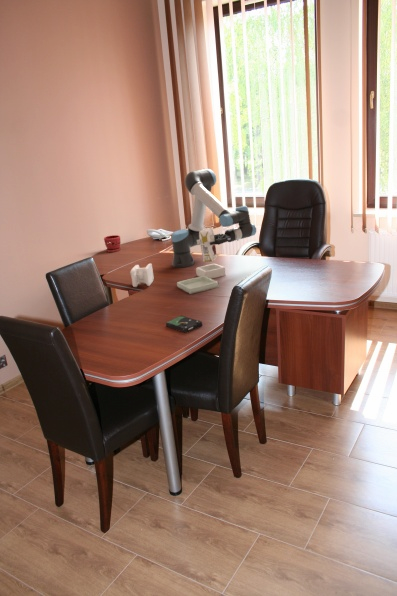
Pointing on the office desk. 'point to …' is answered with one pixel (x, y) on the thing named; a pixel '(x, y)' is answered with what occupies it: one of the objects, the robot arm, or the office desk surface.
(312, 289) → the office desk surface
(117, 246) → the plant pot
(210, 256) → the juice carton
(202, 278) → the tray
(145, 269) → the cable organizer
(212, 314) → the office desk surface
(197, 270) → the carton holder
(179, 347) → the office desk surface
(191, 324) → the disk drive
